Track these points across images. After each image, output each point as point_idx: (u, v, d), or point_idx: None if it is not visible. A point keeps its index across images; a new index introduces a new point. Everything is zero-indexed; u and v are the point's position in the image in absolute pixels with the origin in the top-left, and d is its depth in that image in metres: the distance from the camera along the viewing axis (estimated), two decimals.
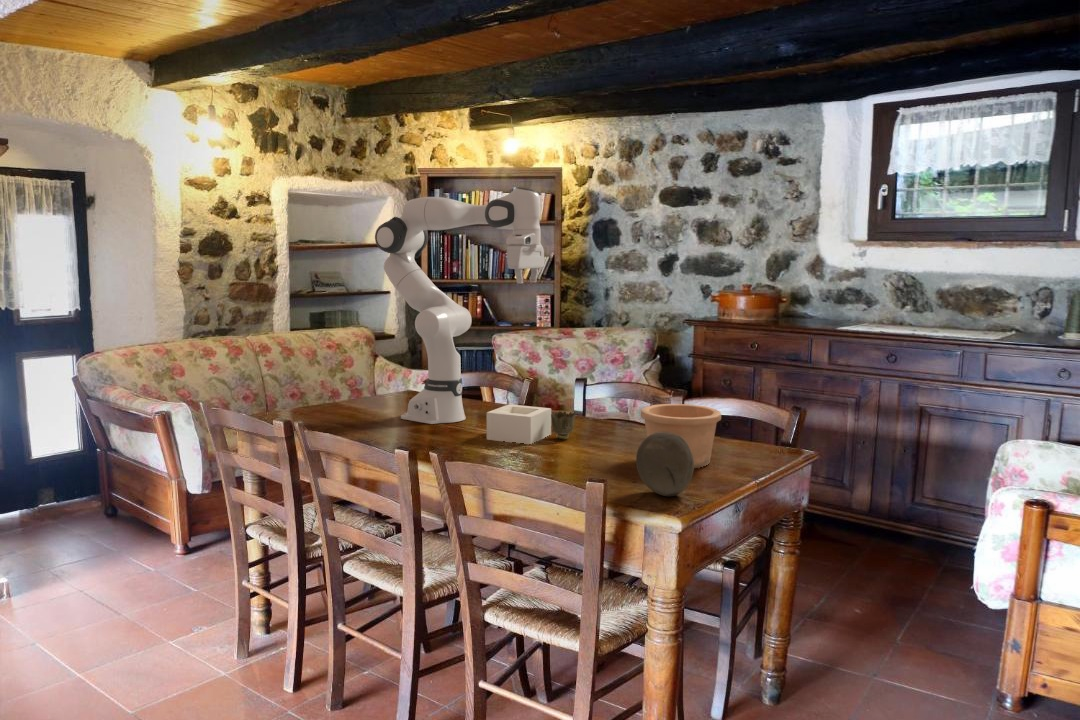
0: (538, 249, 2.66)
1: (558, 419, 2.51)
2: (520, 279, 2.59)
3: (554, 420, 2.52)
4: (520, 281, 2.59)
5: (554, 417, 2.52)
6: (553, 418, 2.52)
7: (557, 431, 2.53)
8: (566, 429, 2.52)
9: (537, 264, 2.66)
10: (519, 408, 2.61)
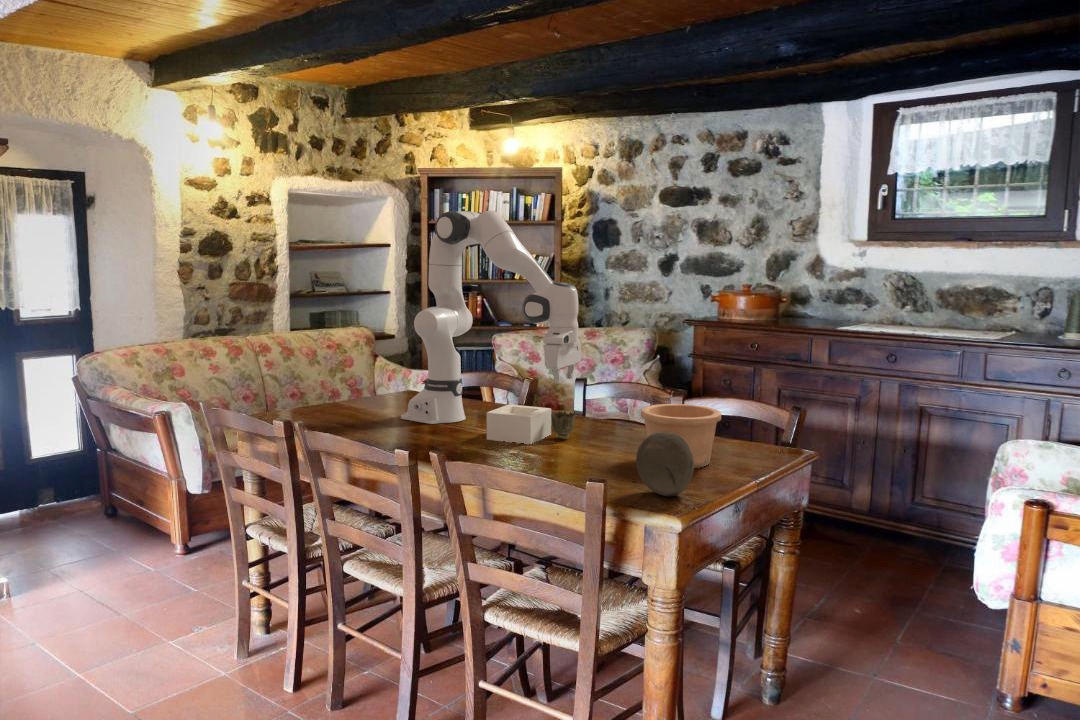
0: (575, 344, 2.55)
1: (558, 419, 2.51)
2: (558, 379, 2.48)
3: (554, 420, 2.52)
4: (558, 381, 2.48)
5: (554, 417, 2.52)
6: (553, 418, 2.52)
7: (557, 431, 2.53)
8: (566, 429, 2.52)
9: (574, 360, 2.55)
10: (519, 408, 2.61)
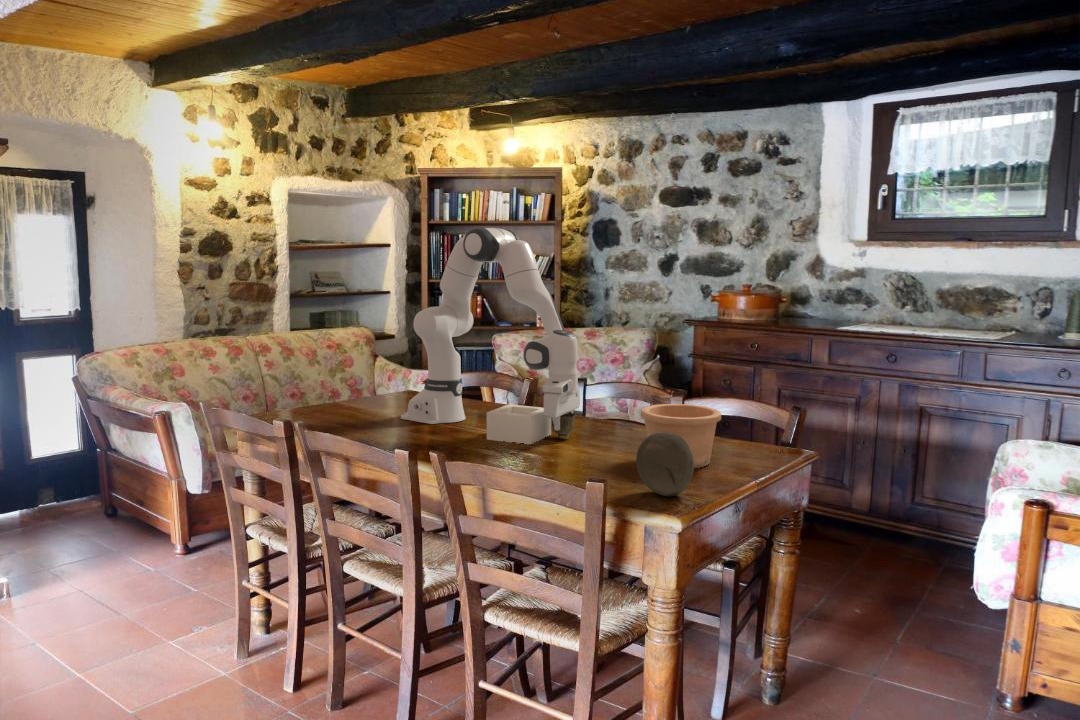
0: (574, 391, 2.57)
1: None
2: (558, 426, 2.50)
3: None
4: (558, 428, 2.50)
5: None
6: None
7: (557, 431, 2.53)
8: (566, 429, 2.52)
9: (573, 407, 2.57)
10: (519, 408, 2.61)
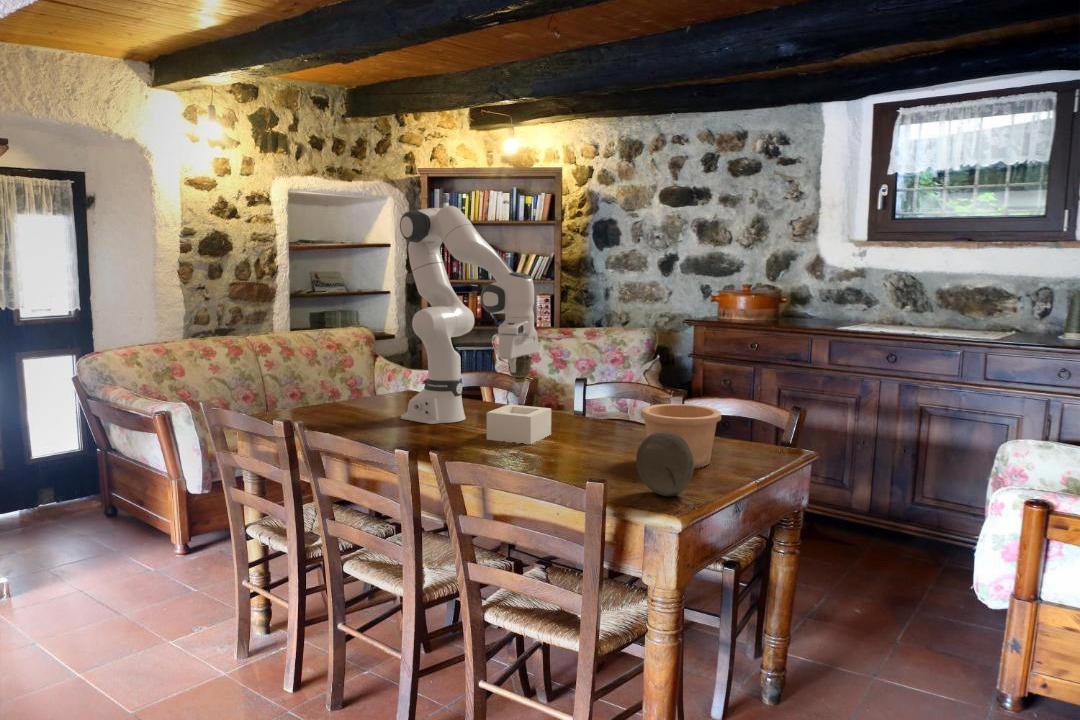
0: (531, 335, 2.57)
1: None
2: (514, 368, 2.50)
3: None
4: (514, 370, 2.50)
5: None
6: None
7: (514, 374, 2.52)
8: (522, 372, 2.51)
9: (530, 350, 2.56)
10: (519, 408, 2.61)
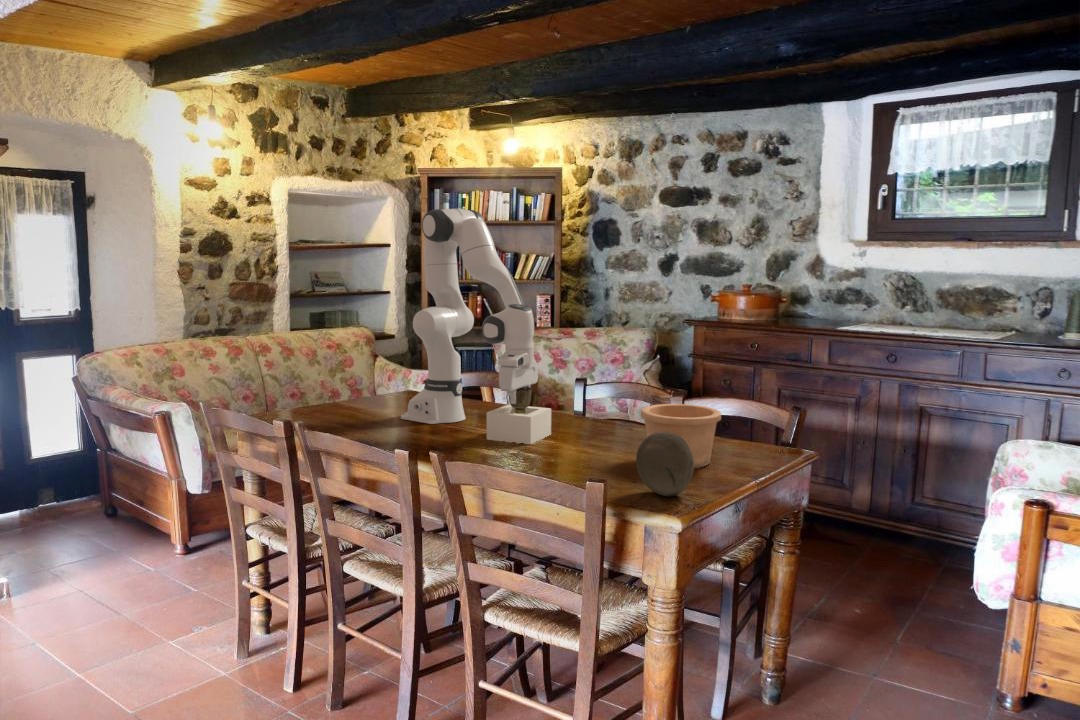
0: (531, 365, 2.58)
1: None
2: (514, 399, 2.51)
3: None
4: (514, 401, 2.51)
5: None
6: None
7: (514, 405, 2.53)
8: (522, 403, 2.53)
9: (530, 381, 2.58)
10: None
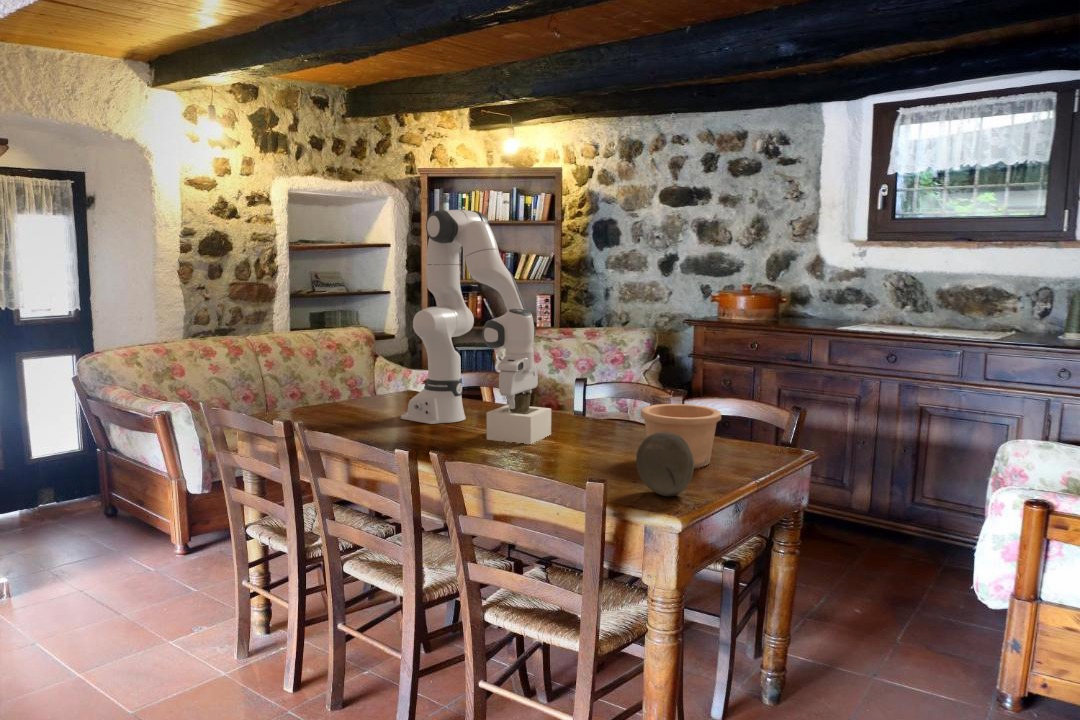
0: (531, 370, 2.58)
1: None
2: (512, 404, 2.51)
3: None
4: (512, 407, 2.51)
5: None
6: None
7: (513, 410, 2.54)
8: (521, 408, 2.53)
9: (530, 386, 2.58)
10: None
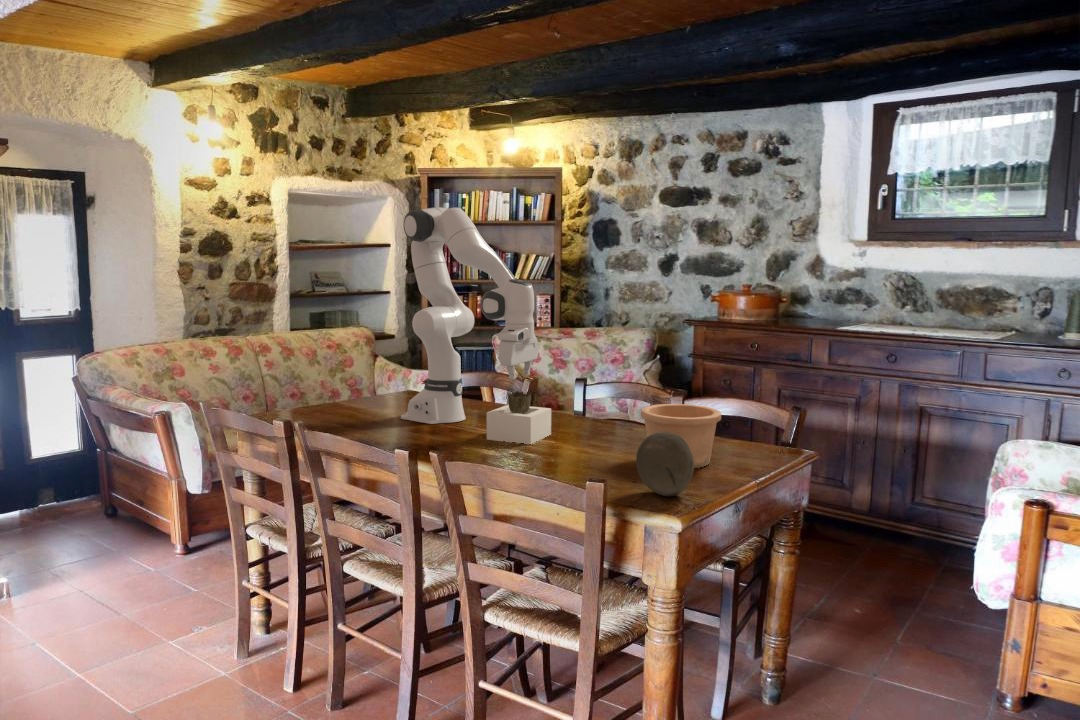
0: (532, 341, 2.57)
1: (514, 398, 2.52)
2: (512, 375, 2.49)
3: (510, 399, 2.53)
4: (512, 377, 2.49)
5: (510, 396, 2.53)
6: (509, 397, 2.53)
7: (513, 410, 2.54)
8: (522, 409, 2.53)
9: (530, 357, 2.57)
10: None
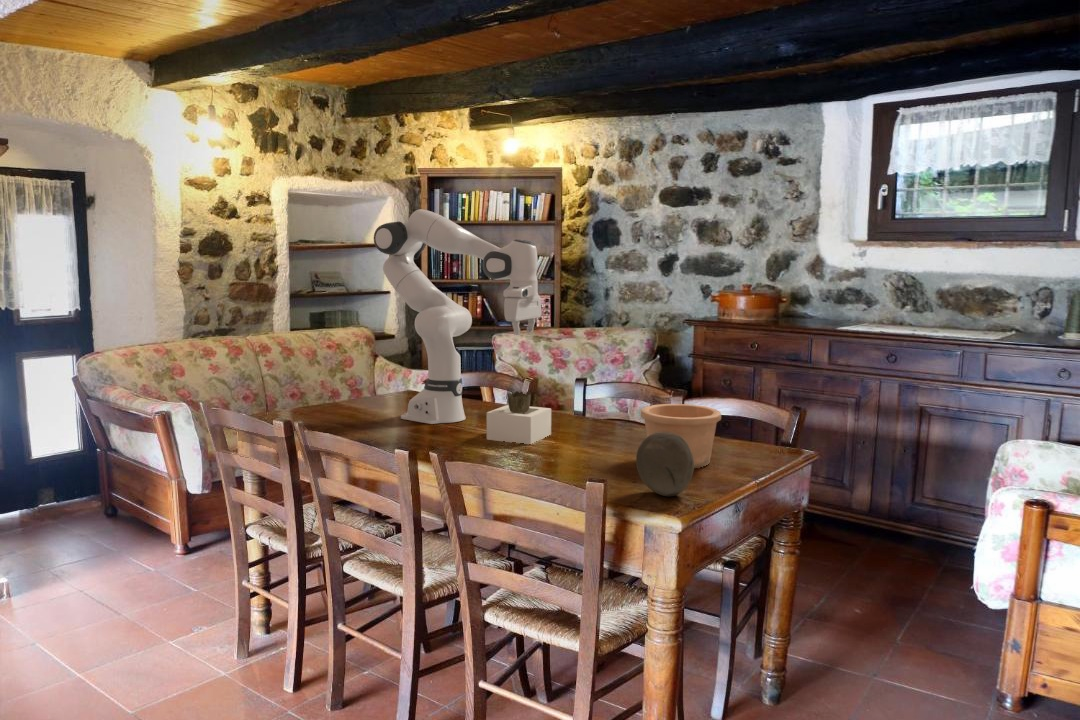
0: (535, 299, 2.69)
1: (513, 398, 2.52)
2: (517, 331, 2.61)
3: (510, 399, 2.53)
4: (517, 333, 2.62)
5: (510, 396, 2.53)
6: (509, 397, 2.53)
7: (513, 410, 2.54)
8: (521, 409, 2.53)
9: (534, 315, 2.69)
10: None
